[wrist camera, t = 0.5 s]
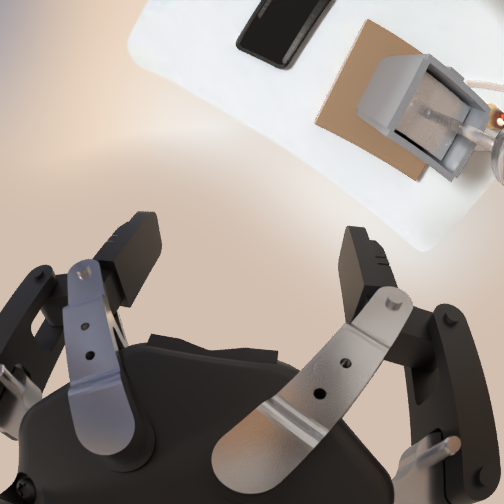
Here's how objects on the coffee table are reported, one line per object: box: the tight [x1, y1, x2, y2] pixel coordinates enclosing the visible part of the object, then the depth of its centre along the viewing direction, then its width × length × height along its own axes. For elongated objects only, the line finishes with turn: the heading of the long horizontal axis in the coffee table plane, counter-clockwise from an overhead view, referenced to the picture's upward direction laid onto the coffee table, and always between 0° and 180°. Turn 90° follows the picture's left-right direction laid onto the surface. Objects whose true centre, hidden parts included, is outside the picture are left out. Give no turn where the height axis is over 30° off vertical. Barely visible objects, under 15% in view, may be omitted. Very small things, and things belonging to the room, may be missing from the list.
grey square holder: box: [314, 19, 492, 182], centre depth 27 cm, size 18×18×16 cm
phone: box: [236, 0, 330, 69], centre depth 29 cm, size 8×1×15 cm
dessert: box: [465, 79, 504, 151], centre depth 29 cm, size 12×12×5 cm
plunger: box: [396, 72, 504, 185], centre depth 17 cm, size 8×8×17 cm
